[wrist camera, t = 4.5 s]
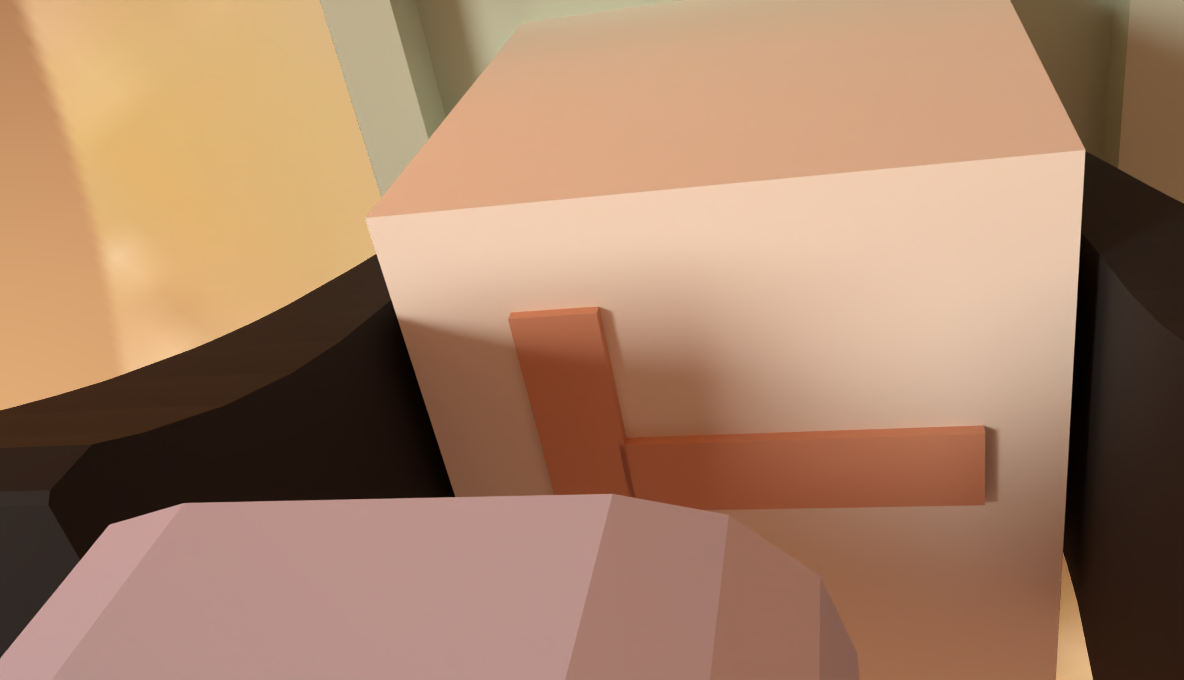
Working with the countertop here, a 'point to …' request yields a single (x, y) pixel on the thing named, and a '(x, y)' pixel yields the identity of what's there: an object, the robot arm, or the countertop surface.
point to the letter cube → (770, 297)
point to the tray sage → (502, 3)
